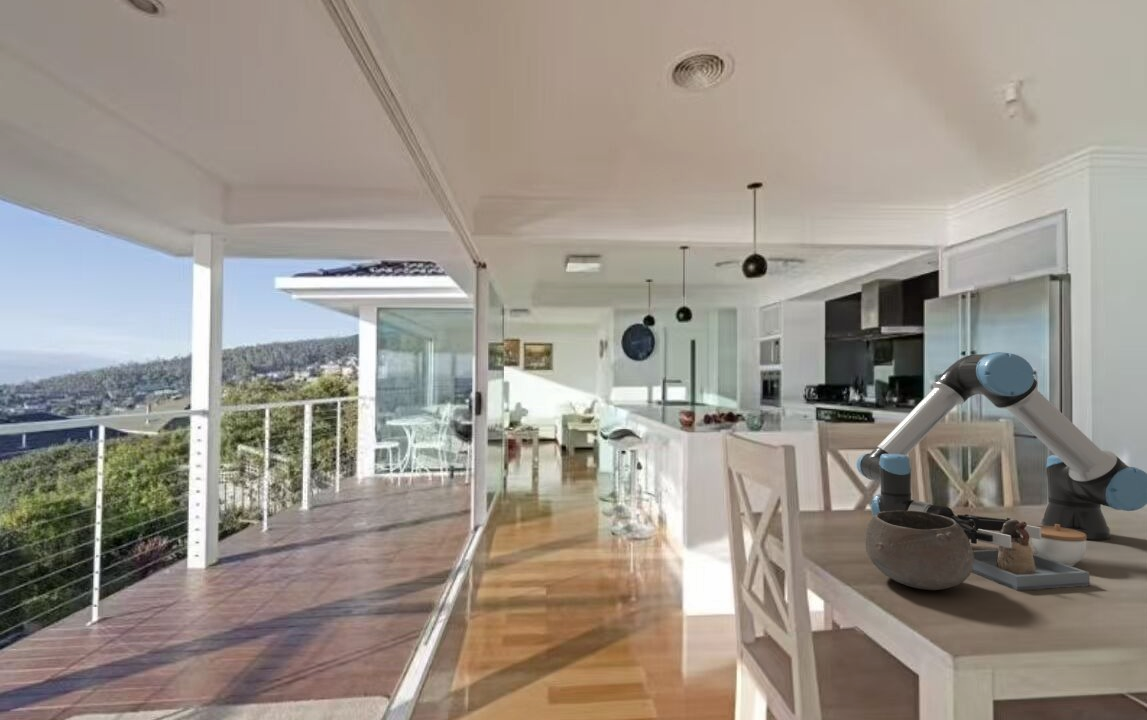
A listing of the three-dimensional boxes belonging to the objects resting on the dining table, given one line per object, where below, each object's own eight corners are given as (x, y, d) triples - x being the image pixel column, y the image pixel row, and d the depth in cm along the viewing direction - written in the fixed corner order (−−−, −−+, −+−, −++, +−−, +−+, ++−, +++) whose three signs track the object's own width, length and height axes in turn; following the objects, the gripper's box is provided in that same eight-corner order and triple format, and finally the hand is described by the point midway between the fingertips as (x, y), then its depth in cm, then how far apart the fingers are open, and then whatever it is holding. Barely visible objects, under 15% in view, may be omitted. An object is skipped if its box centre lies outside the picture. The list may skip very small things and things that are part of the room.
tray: (1015, 560, 142) (1015, 548, 142) (1089, 586, 124) (1089, 572, 124) (951, 563, 139) (951, 551, 139) (1017, 590, 121) (1016, 576, 122)
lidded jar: (1037, 565, 137) (1035, 527, 138) (1026, 553, 147) (1025, 517, 147) (1094, 572, 132) (1093, 532, 133) (1079, 559, 142) (1078, 521, 142)
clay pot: (981, 609, 112) (979, 533, 112) (864, 591, 122) (862, 522, 123) (967, 576, 130) (965, 511, 131) (867, 563, 140) (865, 503, 141)
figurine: (1014, 564, 136) (1013, 515, 136) (1043, 574, 129) (1041, 522, 129) (989, 566, 134) (987, 516, 135) (1017, 576, 127) (1015, 523, 128)
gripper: (958, 526, 154) (1052, 546, 135) (903, 538, 143) (997, 562, 124) (958, 498, 155) (1051, 514, 136) (902, 509, 143) (996, 528, 124)
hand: (1026, 537), depth 130 cm, fingers open, 13 cm apart
